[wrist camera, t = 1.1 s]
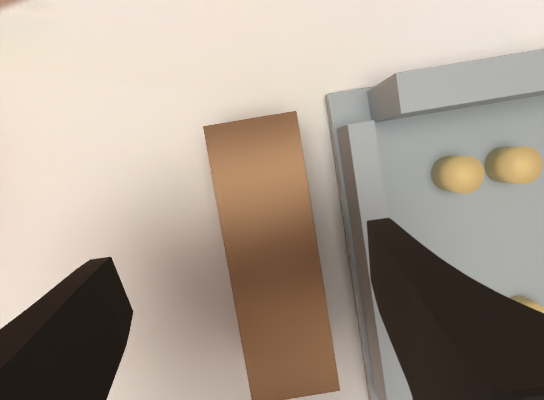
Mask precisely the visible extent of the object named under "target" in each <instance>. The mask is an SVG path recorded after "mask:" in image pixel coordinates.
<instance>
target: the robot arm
mask: <svg viewBox="0 0 544 400" xmlns="http://www.w3.org/2000/svg"><path fill="white" fill-rule="evenodd" d="M367 234H368V249H369V263H370V278H371V284H372V287H373V291H374V295H375V299H376V303H377V306H378V310H379V313H380V316H381V318H382V321H383V323H384V326H385V328H386V331H387V333H388V336H389V338H390V341H391V343H392V346H393V348H394V351H395V353H396V356H397V358H398V361H399V363H400V366H401V368H402V370H403V373H404V375H405V378H406V380H407V383H408V386H409V389H410V391H411V394H412V397H413V400H544V313H542V312H540V311H537V310H535V309H533V308H531V307H528V306H526V305H524V304H522V303H519V302H517V301H515V300H513V299H510V298H508V297H506V296H504V295H502V294H500V293H498V292H496V291H494V290H493V289H491V288H489V287H487V286H485V285H483V284H481V283H480V282H478V281H476V280H474V279H472V278H471V277H469V276H467V275H466V274H464V273H462V272H461V271H459V270H458V269H456V268H455V267H453V266H452V265H450V264H449V263H447V262H446V261H444V260H443V259H441V258H440V257H438V256H437V255H436V254H434V253H433V252H432V251H430V250H429V249H428V248H426V247H425V246H424V245H422V244H421V243H420V242H419V241H417V240H416V239H415V238H414V237H412V236H411V235H410V234H409V233H408V232H406V231H405V230H404V229H403V228H402V227H400V226H399V225H398V224H397V223H396V222H394V221H393V220H392V219H390V218H382V219H375V220H368V221H367ZM132 316H133V310H132V307H131V305H130V302H129V300H128V297H127V295H126V293H125V290H124V288H123V285H122V283H121V280H120V278H119V275H118V273H117V270H116V268H115V265H114V263H113V261H112V258H111V257H106V258H99V259H92V260H89V261H88V262H86V263H85V264H83V265H82V266H80V267H79V268H78V269H76V270H75V271H74V272H73V273H71V274H70V275H69V276H67V277H66V278H65V279H64V280H63V281H61V282H60V283H59V284H58V285H56V286H55V287H54V288H53V289H51V290H50V291H49V292H48V293H47V294H45V295H44V296H43V297H42V298H40V299H39V300H38V301H37V302H35V303H34V304H33V305H32V306H30V307H29V308H28V309H26V310H25V311H24V312H23V313H21V314H20V315H19V316H17V317H16V318H15V319H13V320H12V321H11V322H9V323H8V324H7V325H5V326H4V327H3V328H1V329H0V400H106V399H107V397H108V394H109V391H110V388H111V386H112V383H113V380H114V378H115V375H116V372H117V370H118V367H119V364H120V361H121V358H122V356H123V353H124V350H125V347H126V344H127V340H128V335H129V331H130V326H131V321H132Z"/></svg>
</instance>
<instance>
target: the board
mask: <svg viewBox="0 0 544 400" xmlns="http://www.w3.org/2000/svg"><path fill="white" fill-rule="evenodd" d="M203 128H204V134H205V140H206V145H207V151H208V156H209V162H210V168H211V173H212V179H213V184H214V190H215V196H216V201H217V207H218V212H219V218H220V224H221V229H222V235H223V240H224V246H225V252H226V257H227V263H228V268H229V274H230V280H231V285H232V291H233V296H234V302H235V308H236V313H237V319H238V324H239V330H240V336H241V341H242V347H243V352H244V358H245V364H246V369H247V375H248V380H249V386H250V392H251V397H252V400H285V399H291V398H297V397H303V396H310V395H316V394H322V393H328V392H334V391H340V387H339V381H338V375H337V368H336V362H335V355H334V349H333V343H332V336H331V330H330V324H329V317H328V311H327V304H326V298H325V292H324V285H323V279H322V272H321V266H320V260H319V253H318V247H317V241H316V234H315V228H314V221H313V215H312V209H311V202H310V196H309V189H308V183H307V177H306V170H305V164H304V158H303V151H302V145H301V138H300V132H299V126H298V119H297V113H296V111H293V112H287V113H281V114H275V115H269V116H263V117H257V118H251V119H245V120H239V121H233V122H227V123H221V124H215V125H209V126H203Z"/></svg>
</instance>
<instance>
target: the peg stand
mask: <svg viewBox="0 0 544 400" xmlns="http://www.w3.org/2000/svg"><path fill="white" fill-rule="evenodd" d="M325 99H326V106H327V113H328V119H329V126H330V133H331V140H332V147H333V153H334V160H335V167H336V174H337V181H338V187H339V194H340V201H341V208H342V214H343V221H344V228H345V235H346V242H347V248H348V255H349V262H350V269H351V276H352V282H353V289H354V296H355V303H356V310H357V316H358V323H359V330H360V337H361V343H362V350H363V357H364V364H365V371H366V377H367V384H368V391H369V398H370V400H413V397H412V394H411V391H410V389H409V386H408V383H407V380H406V378H405V375H404V373H403V370H402V368H401V366H400V363H399V361H398V358H397V356H396V353H395V351H394V348H393V346H392V343H391V341H390V338H389V336H388V333H387V331H386V328H385V326H384V323H383V321H382V318H381V316H380V313H379V310H378V306H377V303H376V299H375V295H374V291H373V287H372V284H371V278H370V263H369V249H368V234H367V221H368V220H375V219H382V218H390V219H392V220H393V221H394V222H396V223H397V224H398V225H399V226H400V227H402V228H403V229H404V230H405V231H406V232H408V233H409V234H410V235H411V236H412V237H414V238H415V239H416V240H417V241H419V242H420V243H421V244H422V245H424V246H425V247H426V248H428V249H429V250H430V251H432V252H433V253H434V254H436V255H437V256H438V257H440V258H441V259H443V260H444V261H446V262H447V263H449V264H450V265H452V266H453V267H455V268H456V269H458V270H459V271H461V272H462V273H464V274H466V275H467V276H469V277H471V278H472V279H474V280H476V281H478V282H480V283H481V284H483V285H485V286H487V287H489V288H491V289H493V290H494V291H496V292H498V293H500V294H502V295H504V296H506V297H508V298H510V299H513V300H515V301H517V302H519V303H522V304H524V305H526V306H528V307H531V308H533V309H535V310H537V311H540V312H542V313H544V49H541V50H534V51H528V52H522V53H516V54H510V55H504V56H498V57H492V58H486V59H480V60H473V61H467V62H461V63H455V64H449V65H443V66H437V67H431V68H425V69H419V70H412V71H406V72H400V73H395V74H394V75H392V76H391V77H389V78H388V79H386V80H385V81H383V82H381V83H380V84H378V85H377V86H373V87H367V88H361V89H355V90H349V91H343V92H337V93H331V94H327V95H326V96H325Z"/></svg>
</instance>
